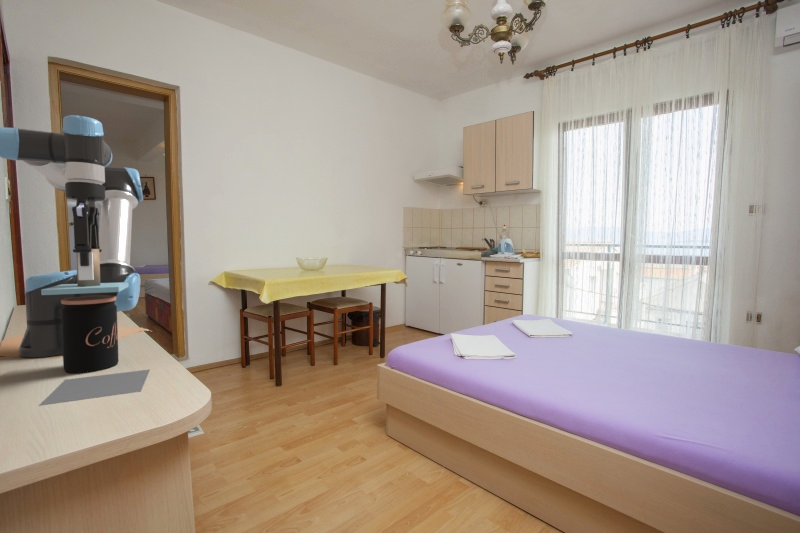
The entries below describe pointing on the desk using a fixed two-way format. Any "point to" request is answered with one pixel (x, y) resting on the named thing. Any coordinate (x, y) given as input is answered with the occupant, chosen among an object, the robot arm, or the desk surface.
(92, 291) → the lid
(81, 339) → the coffee jar
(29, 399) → the desk surface
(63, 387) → the mat
